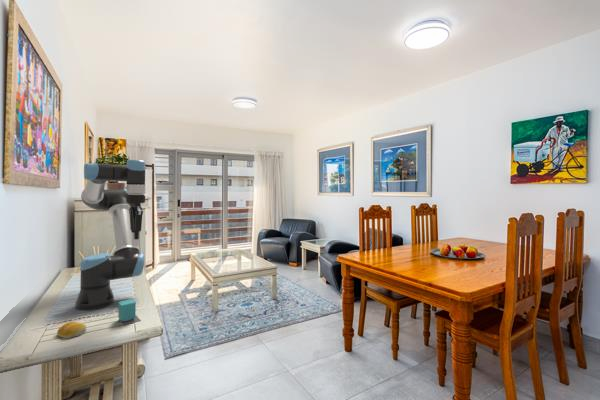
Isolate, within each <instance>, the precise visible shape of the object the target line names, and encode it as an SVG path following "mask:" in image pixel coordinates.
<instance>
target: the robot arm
mask: <svg viewBox="0 0 600 400" xmlns="http://www.w3.org/2000/svg"><path fill="white" fill-rule="evenodd" d="M146 169H147V168H146V162H145V161H144V160H142V159H141V160H140V159H127V160H126V164H109V163H108V164H107V163H96V162H87V163H84V165H83V178H84V180H86V184H85V188H84V189H83V190H82V191H81V196H80V197H81V201H82V203H84V205H86V207H88V208H90V209H93V210H97V211H108V213H109V215H110V216H111V217H112V222H113V223H112V225H113V232H114V241H115V248H116V250H115V251H114V252H113V255H111V254H110V253H109V252H108V253H107V252H104V253H97V254H96V253H95V254H91V255H89V256H85V257H84V258H82V259H81V260H80V268H79V271H80V282H79V284H80V287H79V288H80V290H79V293H78V296H77V298H76V301H75V309H77V310H80V311H81V310H82V311H89V310H90V311H91V310H96V309H102V308H105V307H107V306H110V305H112V304H113V303H114V302H115V295H114V293H113V290H112V287H111V281H114V280H121V279H128V278H134V277H138V276H139V277H140V276H141V275H142V274H143V272H144V267H145V254H144V252H140V249H139V248H138V247H140V232H141V231H142V223H143V214H144V210H143V208H142V205H141V204H144V203H146V195H145V194H146ZM107 181H108V182H126V186H125V187H124V189H105V187H106V184H107Z"/></svg>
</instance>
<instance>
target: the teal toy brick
mask: <svg viewBox="0 0 600 400" xmlns="http://www.w3.org/2000/svg"><path fill="white" fill-rule="evenodd" d="M117 303H118V305H117V309H118V310H117V311H118V314H117V315H118V316H117V317H118V320H119V319H120V320H121V322H122V321H126V320H130V319H133V318H136V316H137V315H136V307H137V306H136V301H134V300H133V299H132V298H131V299H126V300H122V301H118V302H117ZM120 320H119V321H120ZM121 322H120V323H121Z"/></svg>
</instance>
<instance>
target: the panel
mask: <svg viewBox="0 0 600 400" xmlns="http://www.w3.org/2000/svg"><path fill="white" fill-rule="evenodd" d="M118 320H119V322H120V323H121V324H122V325H123V326H125V325H129V324H134V323H137V322H141V319H140V318H139V317H138V316H137V315H136V318H133V319H131V320H128V321H122V322H121V320H120V319H119V318H118Z"/></svg>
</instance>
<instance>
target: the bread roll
mask: <svg viewBox="0 0 600 400" xmlns="http://www.w3.org/2000/svg"><path fill="white" fill-rule="evenodd" d="M86 330H87V326H86V324H85V323H80V322H78V321H68V322H66V323H64V324H62V325H61V327H59V328H58V329H57V331H56V332H57V335H58V336H59V337H60V338H64V339H70V338H74V337H75V338H76V337H80V336H81V335H83V334H84V333H85V332H86Z"/></svg>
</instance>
